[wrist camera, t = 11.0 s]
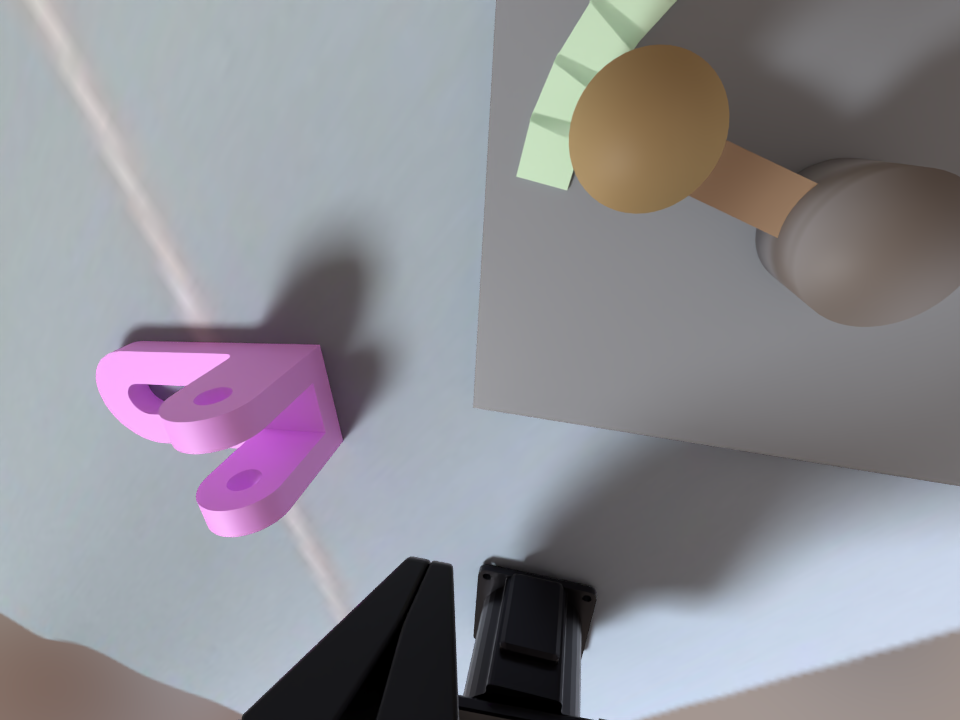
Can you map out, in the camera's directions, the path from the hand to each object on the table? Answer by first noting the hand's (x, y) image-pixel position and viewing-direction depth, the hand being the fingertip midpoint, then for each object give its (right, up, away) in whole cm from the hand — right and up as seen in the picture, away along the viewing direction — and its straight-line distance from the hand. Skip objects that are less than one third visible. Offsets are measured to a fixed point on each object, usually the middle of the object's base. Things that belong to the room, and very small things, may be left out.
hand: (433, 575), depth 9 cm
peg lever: (+9, +10, +6) cm, 14 cm away
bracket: (-13, +2, +17) cm, 21 cm away
